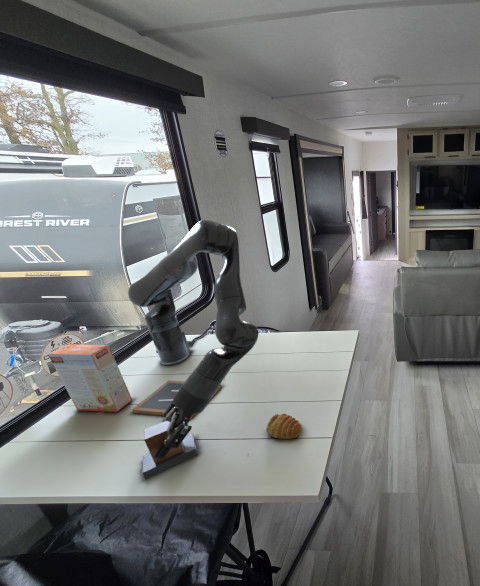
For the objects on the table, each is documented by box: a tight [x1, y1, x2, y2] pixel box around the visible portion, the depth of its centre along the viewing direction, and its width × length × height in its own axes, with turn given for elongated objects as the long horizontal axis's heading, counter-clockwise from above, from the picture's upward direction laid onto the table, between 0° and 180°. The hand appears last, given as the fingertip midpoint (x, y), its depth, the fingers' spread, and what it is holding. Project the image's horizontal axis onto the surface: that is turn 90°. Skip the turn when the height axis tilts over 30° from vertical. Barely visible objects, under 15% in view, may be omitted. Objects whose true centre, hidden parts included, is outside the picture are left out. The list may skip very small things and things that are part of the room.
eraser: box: [142, 419, 198, 480], centre depth 77 cm, size 6×11×10 cm, turn 127°
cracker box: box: [47, 343, 133, 413], centre depth 94 cm, size 14×6×21 cm, turn 84°
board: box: [131, 380, 222, 419], centre depth 99 cm, size 14×20×1 cm
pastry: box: [266, 413, 303, 440], centre depth 85 cm, size 9×7×4 cm
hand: (158, 447), depth 76 cm, fingers open, 6 cm apart
